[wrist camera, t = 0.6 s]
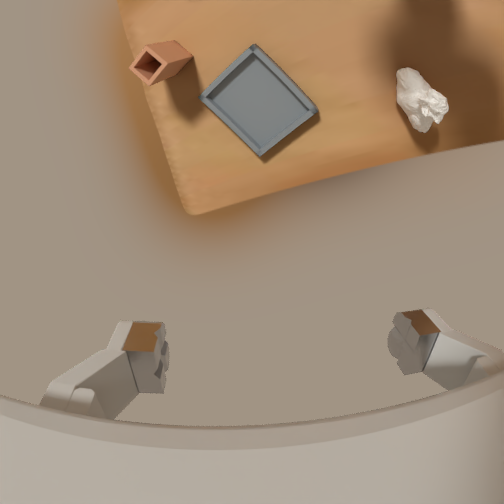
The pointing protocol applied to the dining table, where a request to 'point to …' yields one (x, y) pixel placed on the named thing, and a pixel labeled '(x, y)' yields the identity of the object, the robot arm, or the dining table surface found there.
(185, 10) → the dining table surface
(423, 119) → the bust
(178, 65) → the cup
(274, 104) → the tray
